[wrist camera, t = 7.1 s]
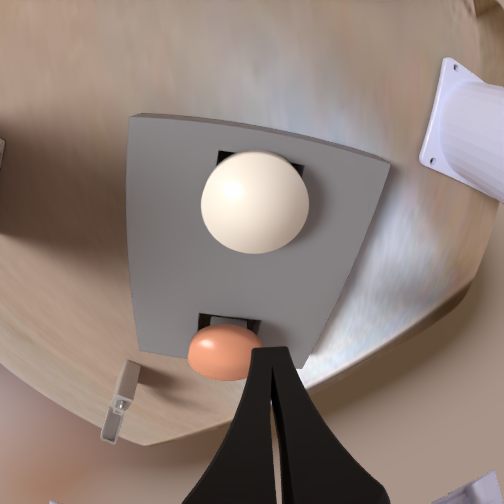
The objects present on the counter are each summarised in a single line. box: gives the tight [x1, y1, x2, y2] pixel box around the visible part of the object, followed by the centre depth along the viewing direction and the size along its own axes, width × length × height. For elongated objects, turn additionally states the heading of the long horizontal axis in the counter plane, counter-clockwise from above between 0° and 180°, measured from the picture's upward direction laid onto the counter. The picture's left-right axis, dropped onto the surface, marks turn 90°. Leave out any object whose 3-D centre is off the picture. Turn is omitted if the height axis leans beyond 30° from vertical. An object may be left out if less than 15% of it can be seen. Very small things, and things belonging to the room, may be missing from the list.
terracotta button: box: [188, 316, 262, 381], centre depth 20 cm, size 5×5×3 cm
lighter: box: [100, 360, 141, 444], centre depth 24 cm, size 7×2×8 cm, turn 147°
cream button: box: [201, 150, 309, 254], centre depth 15 cm, size 5×5×3 cm
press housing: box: [126, 113, 391, 369], centre depth 19 cm, size 14×18×2 cm
